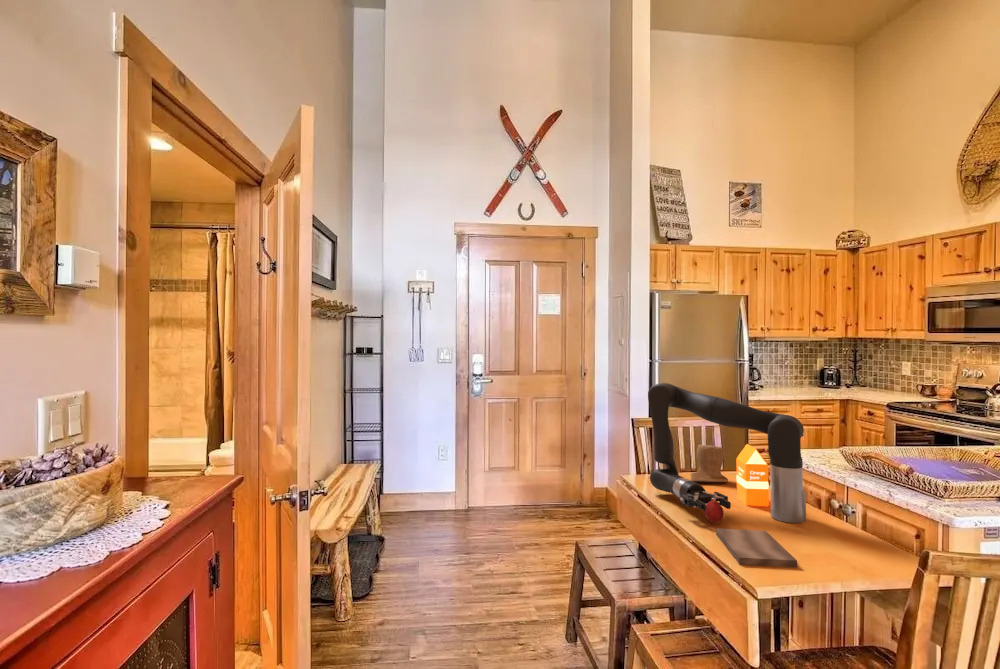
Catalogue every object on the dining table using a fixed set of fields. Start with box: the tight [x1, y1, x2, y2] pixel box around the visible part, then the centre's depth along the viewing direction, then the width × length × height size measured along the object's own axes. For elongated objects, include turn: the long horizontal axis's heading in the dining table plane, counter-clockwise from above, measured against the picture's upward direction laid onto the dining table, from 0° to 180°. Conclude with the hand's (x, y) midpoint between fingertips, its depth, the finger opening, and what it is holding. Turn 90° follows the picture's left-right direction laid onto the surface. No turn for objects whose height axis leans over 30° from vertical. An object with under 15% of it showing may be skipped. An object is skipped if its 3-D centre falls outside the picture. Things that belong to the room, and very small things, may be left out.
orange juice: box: [735, 443, 770, 507], centre depth 177 cm, size 8×9×20 cm
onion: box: [703, 498, 725, 525], centre depth 155 cm, size 6×6×8 cm
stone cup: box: [690, 444, 729, 483], centre depth 204 cm, size 15×12×15 cm
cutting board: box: [715, 528, 798, 568], centre depth 136 cm, size 14×20×2 cm
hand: (717, 506), depth 154 cm, fingers open, 8 cm apart
